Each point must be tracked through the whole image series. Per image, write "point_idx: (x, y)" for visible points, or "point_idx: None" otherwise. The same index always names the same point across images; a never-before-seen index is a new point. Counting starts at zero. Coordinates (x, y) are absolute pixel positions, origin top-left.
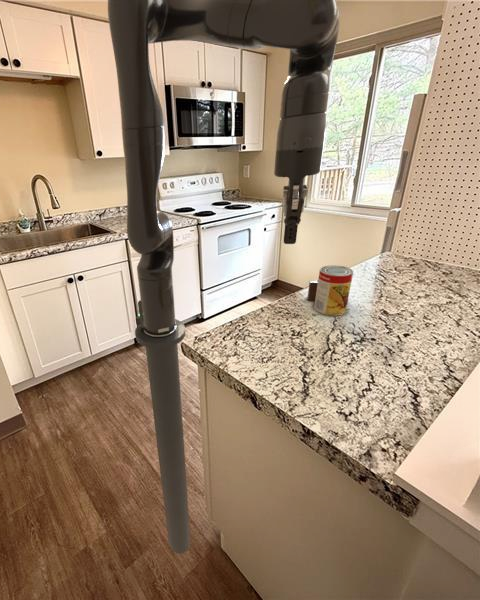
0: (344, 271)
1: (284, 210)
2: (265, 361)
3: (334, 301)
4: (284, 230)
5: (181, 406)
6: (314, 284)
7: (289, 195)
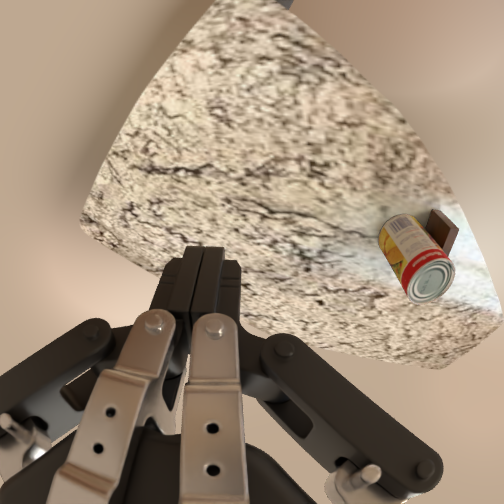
0: (424, 293)
1: (102, 385)
2: (213, 112)
3: (388, 250)
4: (211, 282)
5: (282, 2)
6: (446, 233)
7: (21, 471)
